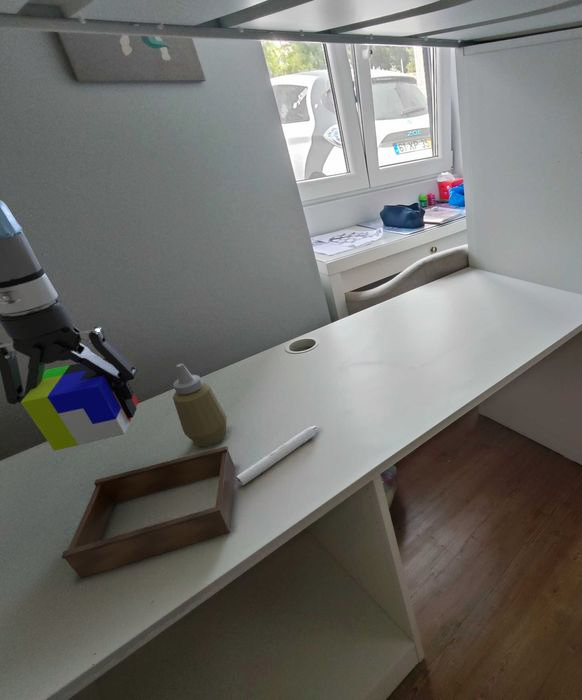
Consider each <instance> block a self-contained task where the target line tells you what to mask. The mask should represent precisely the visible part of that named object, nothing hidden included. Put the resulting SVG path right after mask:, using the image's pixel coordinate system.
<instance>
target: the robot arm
mask: <svg viewBox="0 0 582 700" xmlns="http://www.w3.org/2000/svg"><path fill="white" fill-rule="evenodd" d="M58 297H59V294H58V293H57V291H56V289H55V287H54V285H53V284H52V281H50V279H49V277H48V275H47V274H46V271H45V270H44V269H43V267H42V266H41V264H40V263H39V260H38V258H37V257H36V254H35V253H34V251H33V249H32V247H31V245H30V242H29V240H28V239H27V237H26V235H25V233H24V229H23V227H22V226H21V225H20V224H19V223H18V221H17V220H16V218H15V216H14V215H13V214H12V211H11V210H10V209H9V207H8V206H7V204H6V203H5V202H4V201H3V200H1V199H0V325H1V327H2V328H3V329H4V332H5V333H6V335H8V337H9V338H10V339H12V342H10V343H7V342H0V376H1V380H2V386H3V389H4V393H5V397H6V402H7V403H8V404H10V405H16V404H18V403H19V404H22V403H21V401H22V400H23V399H24V398H25V396H26V395H27V394H28V393H29V391H30V390H31V389H34V388H36V387H37V386H38V385H39V383H40V382H41V381H42V377H43V374H44V372H45V366H46V365H48V364H52V363H55V362H63V361H69V360H70V361H71V362H74V363H75V364H79V363H81V364H82V365H84V366H86V367H87V368H89V369H91V370H92V371H94V372H96V373H97V374H99V375H104V374H105V376H106V378H107V380H109V381H111V382H112V383H114V385H113V387H112V390H113V392H114V393H115V395H116V397H117V399H118V401H119V403H120V404H121V406H122V408H123V410H124V412H125V413H126V415H127V417H128V418H131V419H133V418H134V416H135V413H136V411H137V409H138V408H137V406H135V404H134V402H133V401H132V398H133V395H134V394H135V391H134V388H133V387H132V385H131V382H130V381H133V380H134V379H135V377H136V375H137V373H138V369H137V367H136V366H134V364H133V363H132V362H131V361H130V360H129V359H128V358H127V357H126V356H125V355H124V354H123V353H122V352H121V351H120V350H119V349H118V348H117V347H116V346H115V345H114V344H113V343H112V342H111V341H110V340H109V338H107V336H106V335H105V331H104V329H103V328H102V327H101V326H98V325H97V326H94V327H93V328H92V329H85V330H80V329H79V328H78V327H76V326H75V325H74V323H73V320H72V318H71V316H70V315H69V313H68V311H67V309H66V308H65V306H64V303H63V302H62V301H61V300H59V299H58ZM82 340H85V341H86V342H87V343H88V344H89V345H91V344H92V346H93V348H94V349H95V350H96V351H97V352H98V353H99V354H100V355H101V356H102V357H103V358H102V357H100V356H99V355H97V354H96V353H94V352H92V351H91V350H90V348H89V347H87V346H86V345H85V344H83V343H81V341H82ZM18 353H20V354H22V355H25V356H27V357H29V358H28V359H29V360H28V365H27V370H28V371H27V378H26V383H25V389H24V386H23V382H22V377H21V372H20V367H19V362H18V359H17V354H18ZM103 359H106V360H107V361H108V362H110V363H111V364H112V365H111V364H110V363H108V362H106V361H105V360H103Z"/></svg>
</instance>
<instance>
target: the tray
mask: <svg viewBox="0 0 582 700" xmlns="http://www.w3.org/2000/svg"><path fill="white" fill-rule="evenodd" d="M216 476H219V477H218V484H217V493H216V499H215V500H216V501H215V506H214V507H211V508H207V509H203V510H200V511H196V512H193V513H190V514H189V513H188V514H186V515H183V516H180V517H176V518H173V519H169V520H166V521H163V522H159V523H156V524H152V525H148V526H145V527H142V528H139V529H135V530H132V531H128V532H125V533H121V534H118V535H114V536H112V537H107V538H104V539H102V537H103V534H104V532H105V529H106V527H107V523H108V521H109V518H110V516H111V513H112V510H113V507H114V505H115V504H117V503H120V502H124V501H128V500H132V499H135V498H139V497H143V496H146V495H150V494H154V493H158V492H161V491H164V490H168V489H172V488H176V487H180V486H183V485H187V484H191V483H194V482H198V481H201V480H204V479H209V478H212V477H216ZM235 479H236V466H235V464H234V462H233V458H232V456H231V454H230V452H229V447H228V446H227V445H225V446H221V447H217V448H214V449H210V450H206V451H202V452H198V453H194V454H190V455H186V456H183V457H178V458H175V459H171V460H167V461H163V462H159V463H156V464H150V465H148V466H144V467H139V468H135V469H133V470H128V471H125V472H120V473H118V474H113V475H109V476H105V477H101V478H98V479H95V480H94V483H93V485H94V489H93V491H92V493H91V496H90V499H89V501H88V503H87V505H86V507H85V509H84V512H83V515H82V516H81V519H80V521H79V523H78V526H77V527H76V530H75V532H74V535H73V537H72V539H71V542H70V544H69V547H68V548H67V549H66V550H64V551H63V552H62V555H61V557H60V558H62V560H65V561H66V562H67V563H68V565H69V566H70V568H72V570H73V571H74V572H75V573H76V574H77V576H78V577H79V578H80V579H83V578H87V577H91V576H94V575H96V574H99V573H103V572H106V571H109V570H112V569H115V568H116V569H117V568H119V567H123V566H126V565H129V564H133V563H134V562H135V563H136V562H138V561H141V560H144V559H148V558H152V557H154V556H158V555H161V554H164V553H168V552H170V551H174V550H176V549H181V548H183V547H187V546H190V545H193V544H196V543H197V544H198V543H200V542H203V541H206V540H210V539H213V538H216V537H219V536H221V535H226V534H229V533H230V532H231V526H232V511H233V502H234V501H233V500H234V490H235V489H234V488H235Z"/></svg>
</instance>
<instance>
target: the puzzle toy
mask: <svg viewBox="0 0 582 700" xmlns="http://www.w3.org/2000/svg"><path fill="white" fill-rule="evenodd" d="M102 359H103V360H105V361H106V362H108V361H107V360H106V359H105V358H102ZM108 363H110V362H108ZM110 364H111V363H110ZM111 365H112V364H111ZM113 385H114V383H112V382H111V381H109V380H107V378H106V376H105V374H104V375H99V374H97V373H96V372H94V371H92V370H91V369H89V368H87V367H86V366H84V365H82V364H81V363H75V364H70V365H69V364H68V365H63V366H58V367H53V368H48V369H46V370H44V372H43V377H42V381H41V382H40V383H39V385H38V386H37V387H36V388H34V389H31V390H30V391H29V393H28V394H27V395H26V396H25V398H24V399H23V400H22V401H21V403H20V404H21V405H22V407H23V408H24V410H25V411H26V412H27V414H28V415H29V417H30V418H31V419H32V421H33V422H34V424H35V425H36V426H37V429H38V430H39V431H40V432H41V435H42V436H43V437H44V438H45V439H46V441H47V443H48V444H49V445H50V447H51V448H52V450H53V451H60V450H63V449H69V448H72V447H76V446H81V445H85V444H90V443H93V442H97V441H102V440H106V439H110V438H111V439H112V438H114V437H118V436H124V435H126V432H127V430H128V428H129V425H130V423H131V420H132V418H128V417H127V415H126V413H125V412H124V410H123V408H122V406H121V404H120V403H119V401H118V399H117V397H116V395H115V393H114V392H113V390H112V387H113ZM132 401H133V402H134V404H135V406H136V407H137V406H138V403H139V400H138V398H137V397H136V394H135V393H134V395H133V398H132Z"/></svg>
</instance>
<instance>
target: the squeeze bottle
mask: <svg viewBox="0 0 582 700" xmlns="http://www.w3.org/2000/svg"><path fill="white" fill-rule="evenodd" d="M175 367H176V375H177V379H176V380H175V381H174V382H173V385H172V386H173V389H174V390H175V392H174V393H173V396H172V400H173V402H174V406H175V409H176V413H177V416H178V419H179V422H180V426H181V428H182V432H183V434H184V435H185V436H186V437H187V438H188V439H189V440H191V441H192V442H193V443H194V444H195V445H197V446H199V447H207V446H208V447H209V446H212V445H214V444H217V443H219V442H220V441H221V440H223V439H224V438H225V436H226V435H227V420H228V416H227V415H226V413H225V411H224V410H223V407H222V406H221V404H220V402H219V401H218V399H217V397H216V395H215V394H214V391H213V390H212V388H211V386H210V385H209V384H208V383H205V382H203V381H202V379H201V376H200V375H198V374H191V372H190V371H189V370H188V368H187V367H186V366H185V365H184V363H178V364H176V366H175Z"/></svg>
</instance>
